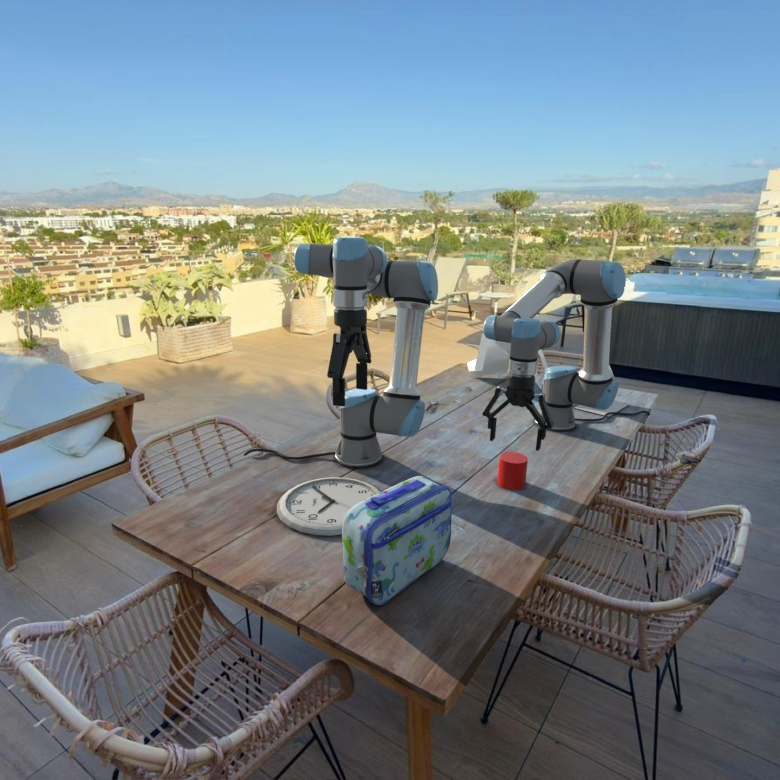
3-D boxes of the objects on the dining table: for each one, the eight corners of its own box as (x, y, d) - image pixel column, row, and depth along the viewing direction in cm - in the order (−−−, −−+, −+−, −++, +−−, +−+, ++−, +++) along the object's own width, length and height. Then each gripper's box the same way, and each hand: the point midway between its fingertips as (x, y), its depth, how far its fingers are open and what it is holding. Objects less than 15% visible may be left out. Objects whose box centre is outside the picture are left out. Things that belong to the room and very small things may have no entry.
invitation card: (608, 416, 214) (573, 407, 224) (608, 416, 214) (573, 408, 224) (628, 404, 229) (594, 396, 238) (628, 405, 229) (594, 397, 238)
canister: (509, 475, 162) (512, 449, 160) (530, 485, 156) (533, 458, 153) (491, 482, 158) (493, 455, 155) (512, 492, 151) (515, 465, 149)
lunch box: (371, 618, 102) (371, 524, 95) (336, 591, 109) (334, 502, 103) (455, 562, 119) (460, 479, 113) (420, 542, 126) (423, 463, 120)
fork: (422, 411, 216) (422, 407, 215) (433, 400, 230) (433, 396, 230) (428, 412, 215) (429, 407, 215) (438, 401, 230) (439, 396, 229)
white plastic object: (487, 418, 267) (468, 395, 242) (469, 346, 289) (449, 318, 264) (558, 394, 255) (545, 368, 230) (533, 321, 277) (518, 289, 252)
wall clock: (392, 527, 129) (268, 531, 127) (391, 533, 130) (269, 537, 127) (383, 473, 158) (282, 475, 155) (383, 478, 158) (282, 480, 156)
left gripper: (342, 317, 106) (343, 415, 112) (384, 302, 129) (383, 384, 135) (309, 314, 108) (312, 411, 115) (356, 300, 131) (356, 381, 137)
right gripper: (474, 370, 149) (469, 439, 155) (564, 384, 138) (555, 458, 144) (483, 365, 155) (478, 431, 162) (570, 377, 144) (561, 448, 150)
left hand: (350, 396), depth 125 cm, fingers open, 13 cm apart
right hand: (514, 444), depth 153 cm, fingers open, 13 cm apart
